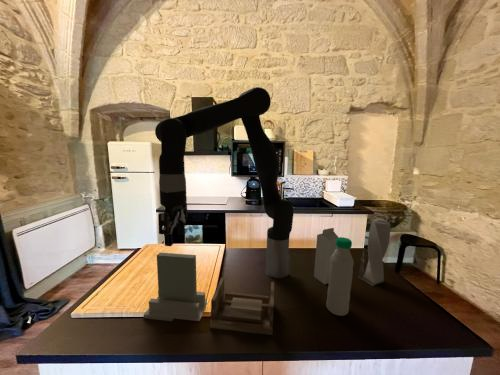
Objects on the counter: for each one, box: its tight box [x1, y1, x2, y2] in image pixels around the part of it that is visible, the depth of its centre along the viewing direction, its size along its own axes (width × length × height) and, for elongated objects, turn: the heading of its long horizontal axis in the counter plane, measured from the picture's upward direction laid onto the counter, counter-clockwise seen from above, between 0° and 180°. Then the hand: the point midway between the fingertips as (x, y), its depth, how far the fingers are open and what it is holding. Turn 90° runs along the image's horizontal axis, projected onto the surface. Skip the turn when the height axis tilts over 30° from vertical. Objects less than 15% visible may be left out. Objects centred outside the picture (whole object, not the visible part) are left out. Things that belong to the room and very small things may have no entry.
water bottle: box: [326, 236, 355, 317], centre depth 72 cm, size 7×7×25 cm
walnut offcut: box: [222, 305, 263, 325], centre depth 66 cm, size 4×12×3 cm, turn 83°
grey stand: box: [143, 290, 208, 322], centre depth 72 cm, size 10×18×5 cm, turn 83°
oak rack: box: [209, 277, 275, 336], centre depth 69 cm, size 14×18×9 cm
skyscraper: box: [356, 213, 391, 287], centre depth 89 cm, size 8×8×28 cm
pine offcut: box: [230, 297, 262, 320], centre depth 66 cm, size 4×9×3 cm, turn 83°
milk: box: [313, 227, 339, 285], centre depth 90 cm, size 6×6×22 cm
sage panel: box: [156, 252, 198, 303], centre depth 71 cm, size 2×12×18 cm, turn 84°
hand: (175, 239), depth 68 cm, fingers open, 8 cm apart
